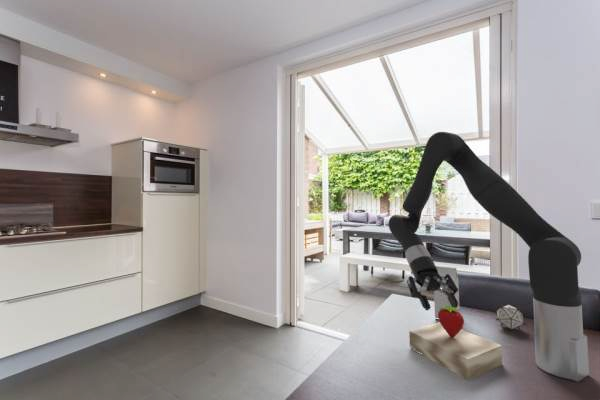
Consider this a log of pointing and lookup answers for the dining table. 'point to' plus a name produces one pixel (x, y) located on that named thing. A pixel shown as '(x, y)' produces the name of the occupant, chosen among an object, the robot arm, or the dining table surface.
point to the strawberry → (451, 320)
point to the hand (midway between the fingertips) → (442, 308)
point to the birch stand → (457, 350)
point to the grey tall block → (441, 298)
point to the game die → (510, 316)
